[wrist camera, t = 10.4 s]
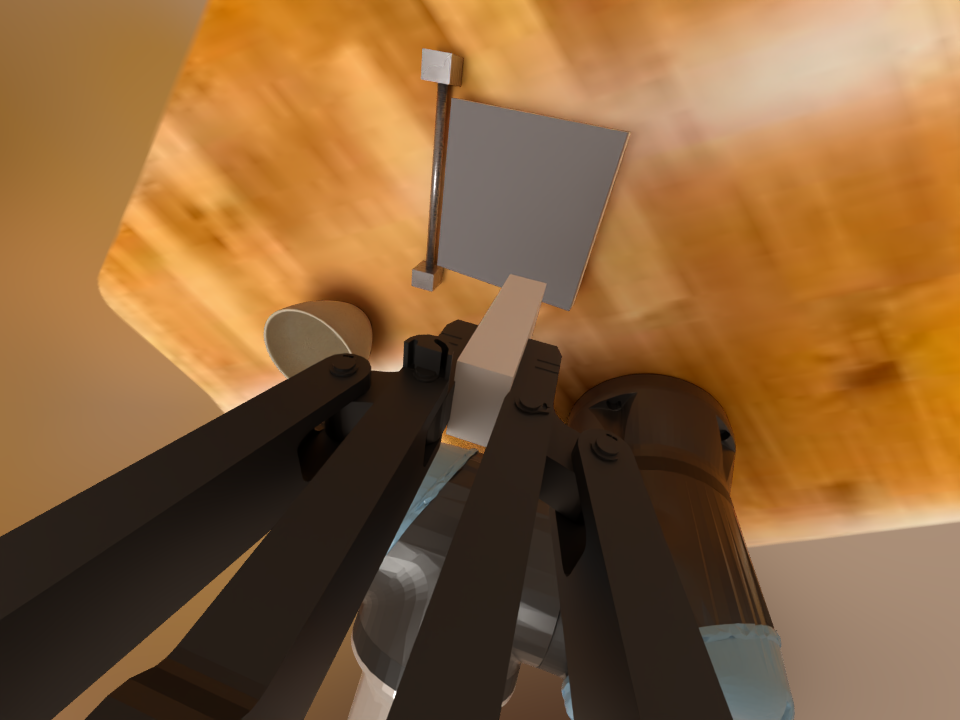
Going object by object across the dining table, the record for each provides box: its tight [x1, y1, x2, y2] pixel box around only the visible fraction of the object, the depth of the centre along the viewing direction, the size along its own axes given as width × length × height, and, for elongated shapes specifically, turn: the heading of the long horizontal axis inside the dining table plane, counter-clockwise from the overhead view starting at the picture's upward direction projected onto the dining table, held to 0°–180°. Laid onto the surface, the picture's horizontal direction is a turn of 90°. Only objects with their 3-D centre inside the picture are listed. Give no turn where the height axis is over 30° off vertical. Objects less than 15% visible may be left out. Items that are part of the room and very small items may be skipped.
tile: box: [437, 98, 631, 311], centre depth 28 cm, size 12×12×2 cm
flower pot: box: [264, 300, 372, 379], centre depth 38 cm, size 10×10×7 cm
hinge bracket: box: [412, 48, 464, 291], centre depth 29 cm, size 2×17×2 cm, turn 171°
